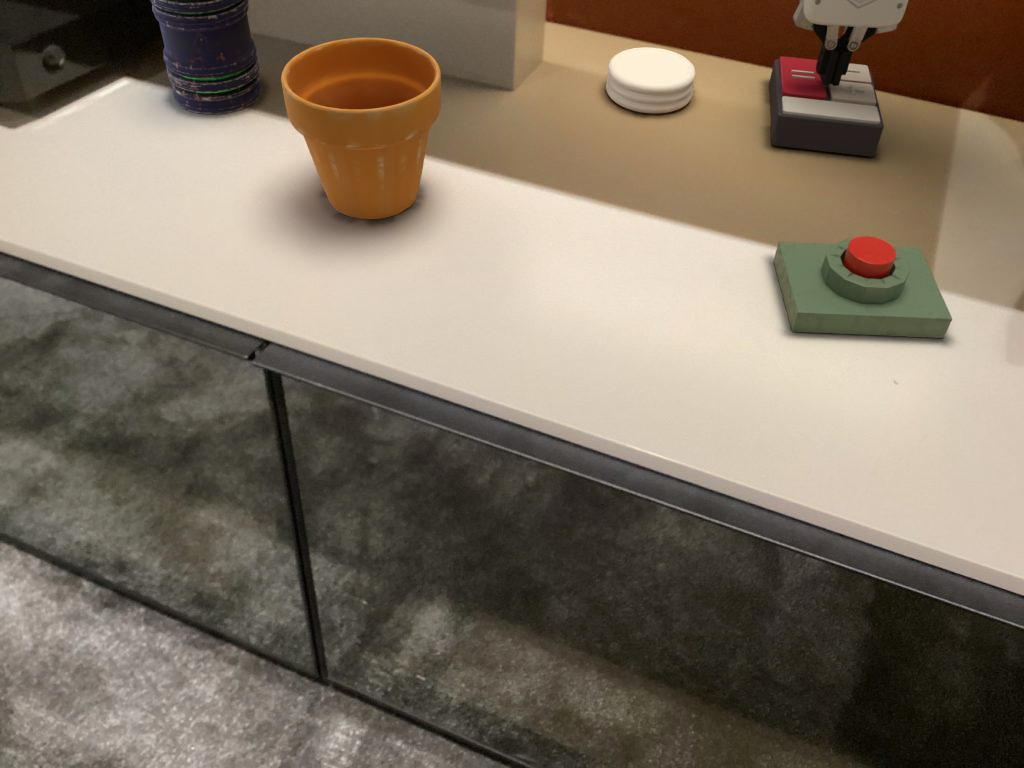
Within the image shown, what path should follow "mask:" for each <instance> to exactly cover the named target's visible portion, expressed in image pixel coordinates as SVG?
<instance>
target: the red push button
mask: <svg viewBox="0 0 1024 768" xmlns="http://www.w3.org/2000/svg"><path fill="white" fill-rule="evenodd" d="M851 239H852V240H851V241H850V242H849V244H848V247H847V250H846V253H845V256H844V259H843V264H844V267H845V268H847V269H848V270H849V271H850V272H851V273H853V274H855V275H858V276H861V277H864V278H867V279H883V278H885V277H887V276H888V275H889V273H890V271H891V268H892V266H893V263H894V261H895V258H896V251H895V249H894V248H893V247H894V246H892V244H890V243H889V242H887V241H886V240H884V239H881V238H878V237H875V236H869V235H862V236H857V237H855V238H851Z"/></svg>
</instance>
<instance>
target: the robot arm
mask: <svg viewBox="0 0 1024 768" xmlns="http://www.w3.org/2000/svg"><path fill="white" fill-rule="evenodd" d="M798 2H799V3H798V5H797V8H796V9H795V12H794V14H793V16H792V21H793V23H794V25H795V27H797V28H800V29H804V30H807V31H812V32H814V33H815V34H816V36H817V38H819V40H820V41H821V46H820V50H819V52H818V53H819V54H818V57H817V59H816V60H817V64H816V72H817V74H819V76H820V78H821V81H822V83H823V85H829V84H833V86H839V83H840V80H841V76H842V75H846V73H847V70H848V66H849V64H851V63H850V62H851V60H852V57H853V56H852V55H853V52H855V51H857V50H858V49H859V48H860V45H861V44H863V43H864V42H866V41H867V40H869V38H871V37H872V36H874V35H876V34H877V35H878V34H883V33H889V32H894V31H895V30H896V29H897V28H898V24H900V22H901V21H902V20H903V17H904V15H905V12H906V10H907V6H908V3H909V0H798ZM840 27H844V29H843V31H842V34H841V36H840V38H839V32H840Z"/></svg>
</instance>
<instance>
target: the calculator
mask: <svg viewBox="0 0 1024 768" xmlns="http://www.w3.org/2000/svg"><path fill="white" fill-rule="evenodd" d="M817 60H818V59H811V58H801V57H792V56H782V55H781V56H780V57H779V58H776V59H774V61H773V65H772V70H771V72H770V73H771V74H770V77H769V78H770V79H769V98H770V101H769V102H770V117H771V118H770V119H771V122H770V141H771V145H773V146H777V147H783V148H794V149H800V150H811V151H817V152H818V151H820V152H828V153H836V154H844V155H853V156H860V157H861V156H863V157H870V158H871V157H875V156H876V153H877V150H878V147H879V145H880V141H881V137H882V135H883V132H884V128H885V124H884V120H883V116H882V112H881V108H880V105H879V104H880V103H879V100H878V95H877V92H876V88H875V84H874V80H873V77H872V72H871V69H870V68H869V66H868V65H866V64H858V63H849V66H848V70H847V73H846V75H842V76H841V80H840V83H839V86H833V84H829V85H823V83H822V81H821V78H820V76H819V74H817V72H816V64H817Z"/></svg>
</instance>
